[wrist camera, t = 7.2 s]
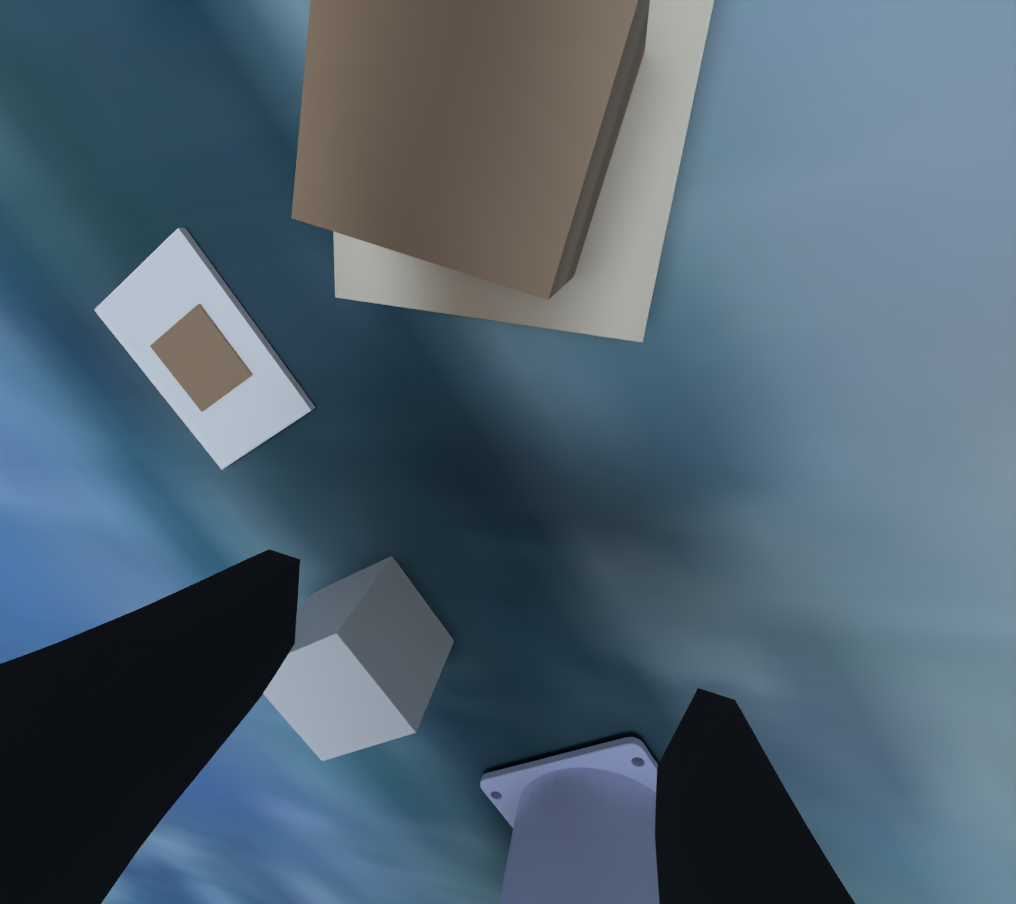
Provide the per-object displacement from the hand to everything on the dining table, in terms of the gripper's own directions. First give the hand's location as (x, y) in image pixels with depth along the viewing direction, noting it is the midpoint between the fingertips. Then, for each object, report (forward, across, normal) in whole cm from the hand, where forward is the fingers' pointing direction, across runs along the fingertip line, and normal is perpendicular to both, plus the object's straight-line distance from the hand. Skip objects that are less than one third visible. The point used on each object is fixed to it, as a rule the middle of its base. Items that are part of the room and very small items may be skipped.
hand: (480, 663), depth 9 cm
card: (+9, +13, 0) cm, 16 cm away
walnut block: (+6, +3, -8) cm, 11 cm away
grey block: (+10, +5, +9) cm, 14 cm away
